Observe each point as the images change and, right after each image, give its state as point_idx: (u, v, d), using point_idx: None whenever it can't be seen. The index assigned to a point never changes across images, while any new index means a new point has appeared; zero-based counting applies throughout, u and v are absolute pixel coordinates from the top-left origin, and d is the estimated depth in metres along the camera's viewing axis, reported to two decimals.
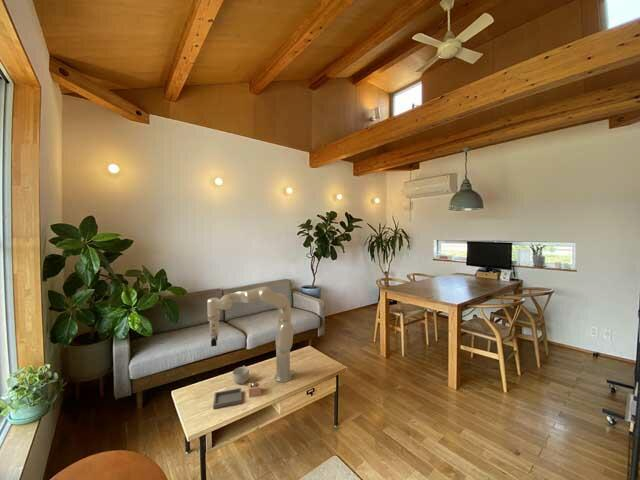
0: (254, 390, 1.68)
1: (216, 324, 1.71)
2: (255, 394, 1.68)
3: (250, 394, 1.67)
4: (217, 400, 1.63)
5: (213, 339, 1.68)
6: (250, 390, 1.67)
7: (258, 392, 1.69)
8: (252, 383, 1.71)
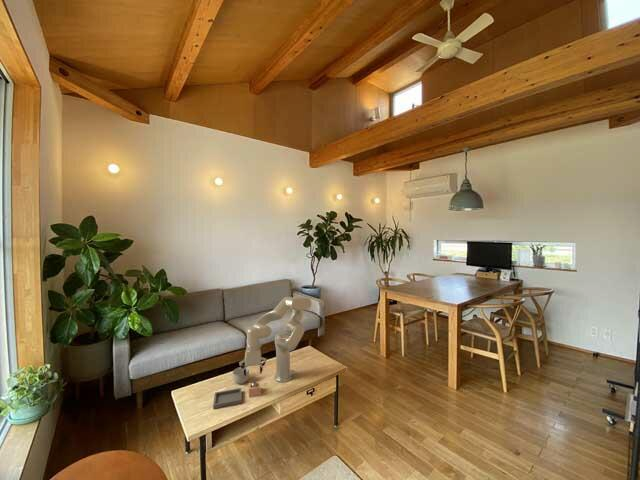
0: (254, 390, 1.68)
1: None
2: (255, 394, 1.68)
3: (250, 394, 1.67)
4: (217, 400, 1.63)
5: None
6: (250, 390, 1.67)
7: (258, 392, 1.69)
8: (252, 383, 1.71)
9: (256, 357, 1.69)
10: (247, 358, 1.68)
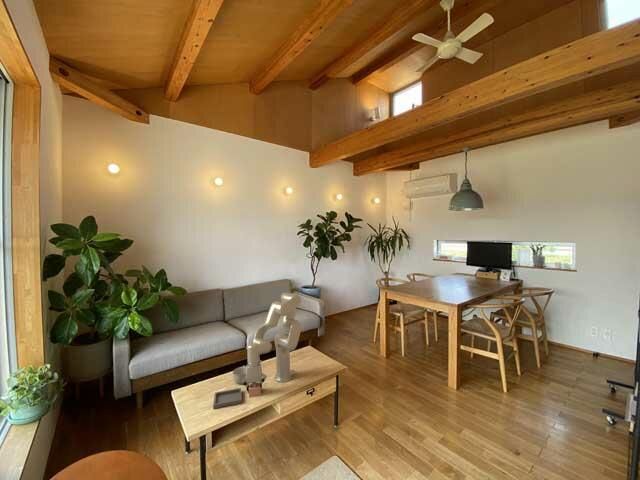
0: (254, 390, 1.68)
1: None
2: (255, 394, 1.68)
3: (250, 394, 1.67)
4: (217, 400, 1.63)
5: None
6: (250, 390, 1.67)
7: (258, 392, 1.69)
8: (252, 383, 1.71)
9: (257, 373, 1.70)
10: (248, 374, 1.68)
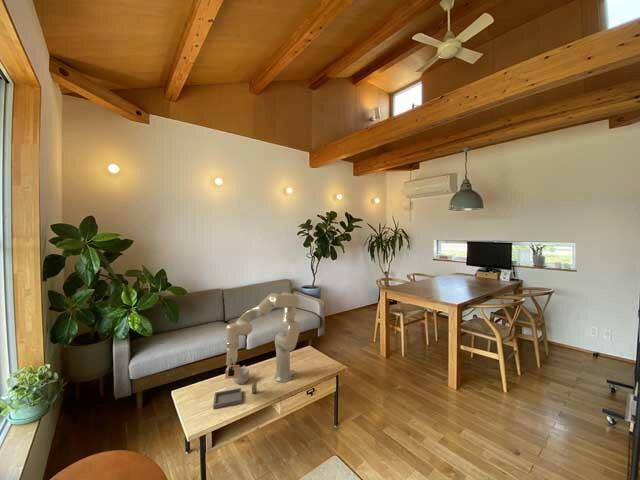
0: (238, 369, 1.66)
1: None
2: (238, 373, 1.66)
3: (237, 374, 1.63)
4: (217, 400, 1.63)
5: None
6: (237, 370, 1.63)
7: (239, 370, 1.68)
8: (252, 383, 1.71)
9: None
10: (235, 355, 1.62)
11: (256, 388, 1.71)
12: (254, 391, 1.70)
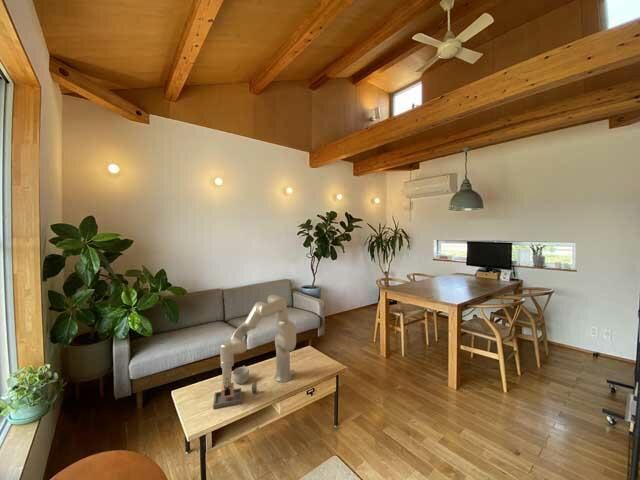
0: (233, 387, 1.66)
1: None
2: None
3: (233, 393, 1.63)
4: (217, 400, 1.63)
5: None
6: (233, 388, 1.63)
7: None
8: (252, 383, 1.71)
9: None
10: None
11: (256, 388, 1.71)
12: (254, 391, 1.70)
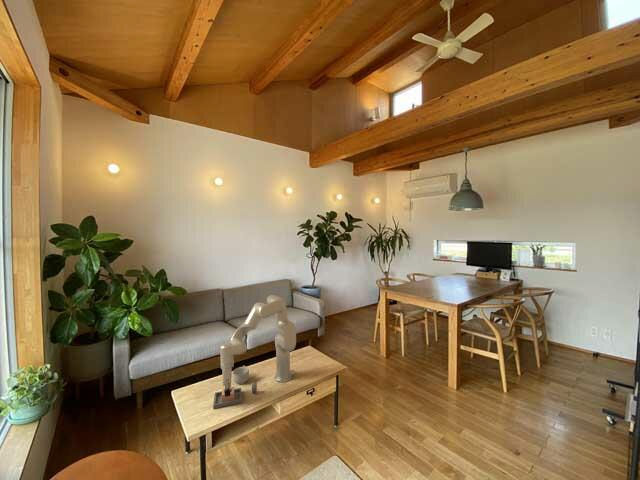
0: (233, 391, 1.66)
1: None
2: None
3: None
4: (217, 400, 1.63)
5: None
6: None
7: None
8: (252, 383, 1.71)
9: None
10: (231, 375, 1.62)
11: (256, 388, 1.71)
12: (254, 391, 1.70)
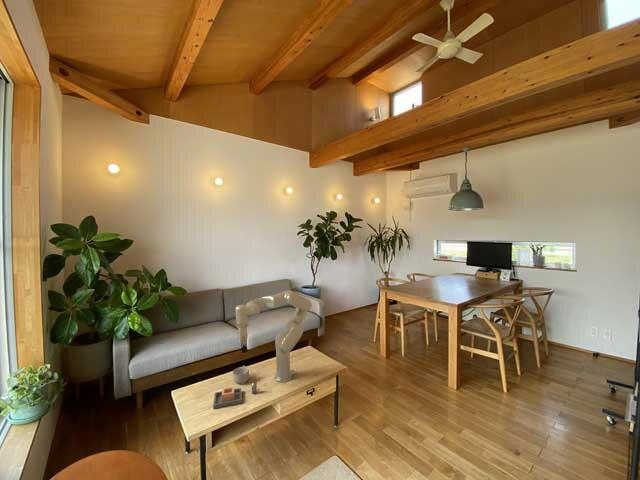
0: (233, 391, 1.66)
1: None
2: None
3: None
4: (217, 400, 1.63)
5: None
6: None
7: None
8: (252, 383, 1.71)
9: None
10: (246, 333, 1.74)
11: (256, 388, 1.71)
12: (254, 391, 1.70)
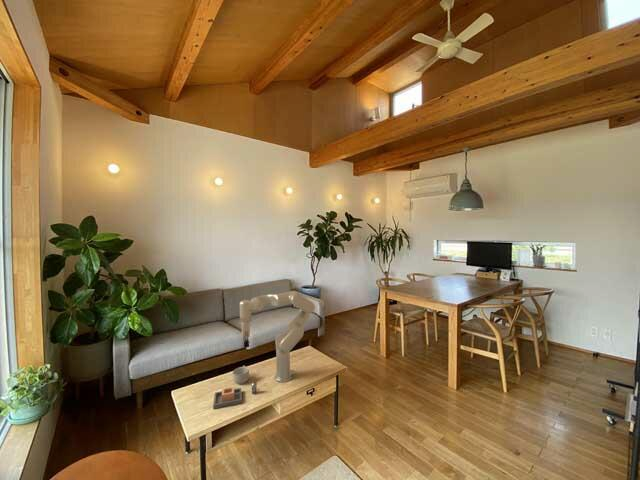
0: (233, 391, 1.66)
1: None
2: None
3: None
4: (217, 400, 1.63)
5: None
6: None
7: None
8: (252, 383, 1.71)
9: None
10: (249, 328, 1.76)
11: (256, 388, 1.71)
12: (254, 391, 1.70)
